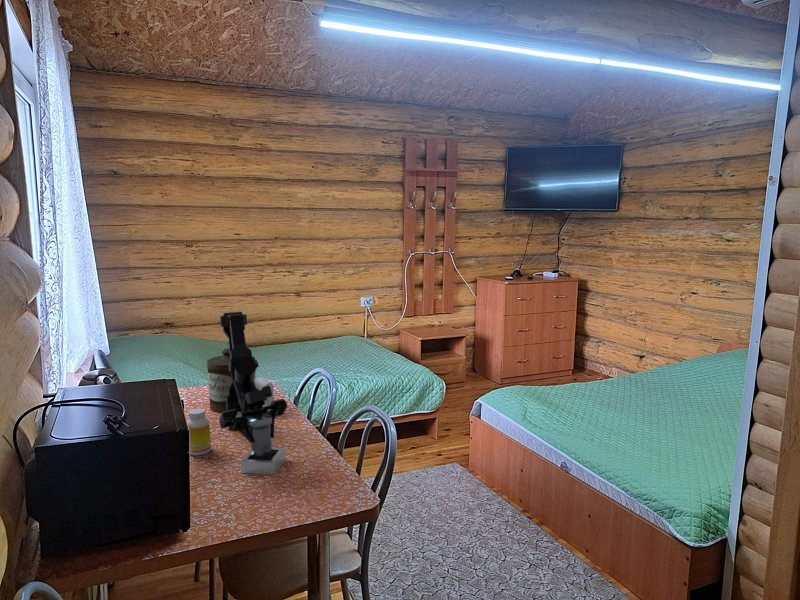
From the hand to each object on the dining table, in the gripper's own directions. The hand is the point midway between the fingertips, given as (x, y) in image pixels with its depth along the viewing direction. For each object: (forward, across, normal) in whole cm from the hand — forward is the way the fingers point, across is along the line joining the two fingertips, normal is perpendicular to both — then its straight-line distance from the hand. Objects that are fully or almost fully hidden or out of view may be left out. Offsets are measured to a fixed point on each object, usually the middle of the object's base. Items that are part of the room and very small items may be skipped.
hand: (262, 439), depth 159 cm
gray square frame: (+5, 0, +7) cm, 9 cm away
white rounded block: (-26, +17, +38) cm, 49 cm away
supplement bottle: (-10, -12, +22) cm, 27 cm away
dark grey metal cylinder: (+5, 0, +7) cm, 8 cm away
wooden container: (-34, +9, +47) cm, 59 cm away
